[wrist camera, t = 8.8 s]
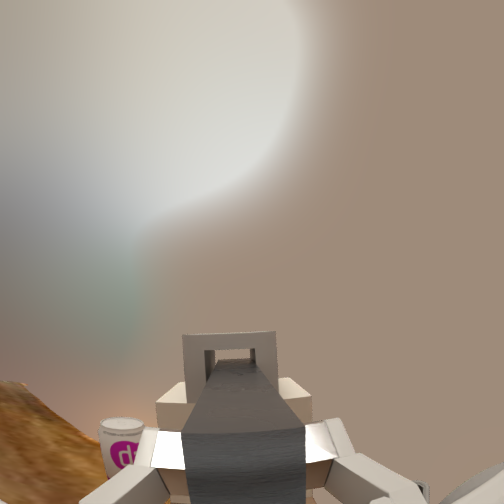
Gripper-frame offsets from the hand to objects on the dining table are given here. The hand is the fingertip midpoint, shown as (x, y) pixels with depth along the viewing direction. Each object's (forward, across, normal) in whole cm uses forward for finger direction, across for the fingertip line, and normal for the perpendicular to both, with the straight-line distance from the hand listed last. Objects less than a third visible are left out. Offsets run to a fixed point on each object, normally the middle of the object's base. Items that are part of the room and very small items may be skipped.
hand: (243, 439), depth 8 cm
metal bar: (+6, 0, -6) cm, 8 cm away
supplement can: (+15, -19, -39) cm, 46 cm away
